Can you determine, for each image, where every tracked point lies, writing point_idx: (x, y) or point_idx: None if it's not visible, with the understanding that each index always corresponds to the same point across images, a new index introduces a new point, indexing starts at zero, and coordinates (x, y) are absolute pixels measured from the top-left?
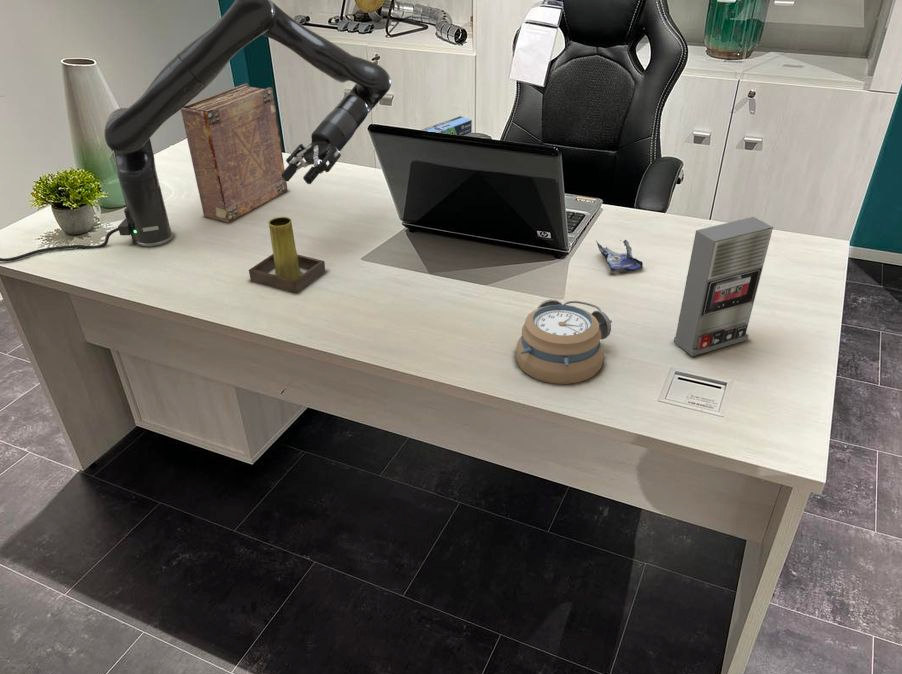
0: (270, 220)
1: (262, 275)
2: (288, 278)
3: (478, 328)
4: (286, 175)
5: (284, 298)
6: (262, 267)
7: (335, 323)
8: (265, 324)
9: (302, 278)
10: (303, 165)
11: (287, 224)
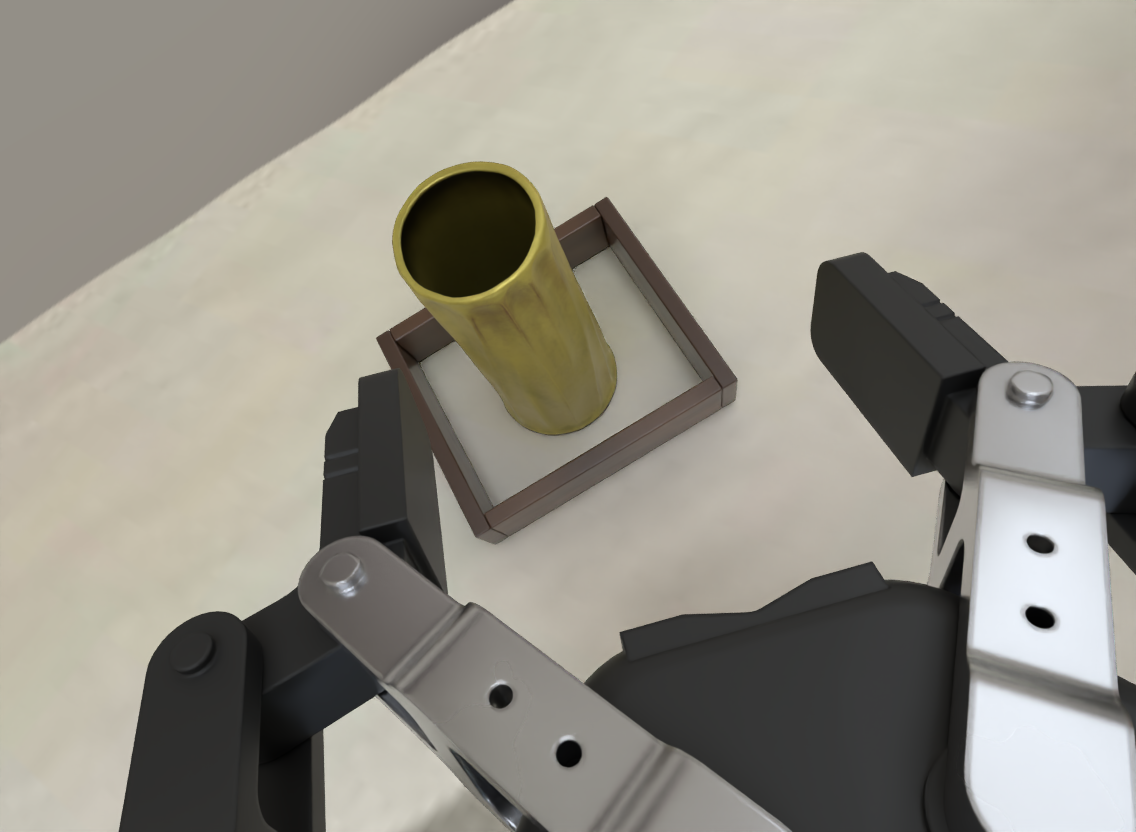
0: (521, 181)
1: None
2: (424, 323)
3: None
4: (838, 316)
5: (399, 304)
6: (636, 272)
7: (128, 403)
8: (285, 197)
9: None
10: (929, 584)
11: (396, 261)
